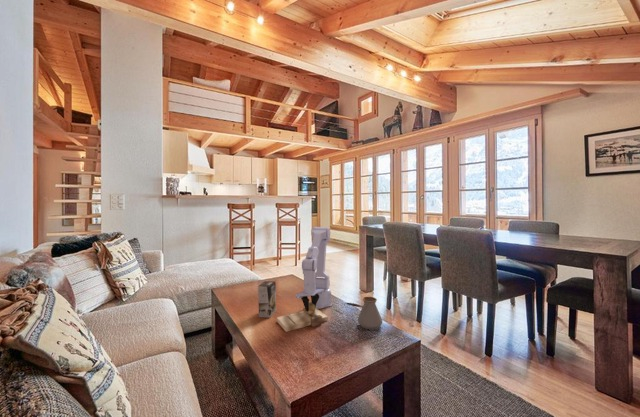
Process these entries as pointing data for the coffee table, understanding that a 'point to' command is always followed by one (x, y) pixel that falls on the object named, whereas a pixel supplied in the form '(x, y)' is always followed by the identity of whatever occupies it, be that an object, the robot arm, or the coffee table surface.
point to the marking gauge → (313, 315)
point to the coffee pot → (368, 314)
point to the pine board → (298, 320)
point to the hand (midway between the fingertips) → (310, 310)
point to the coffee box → (267, 298)
